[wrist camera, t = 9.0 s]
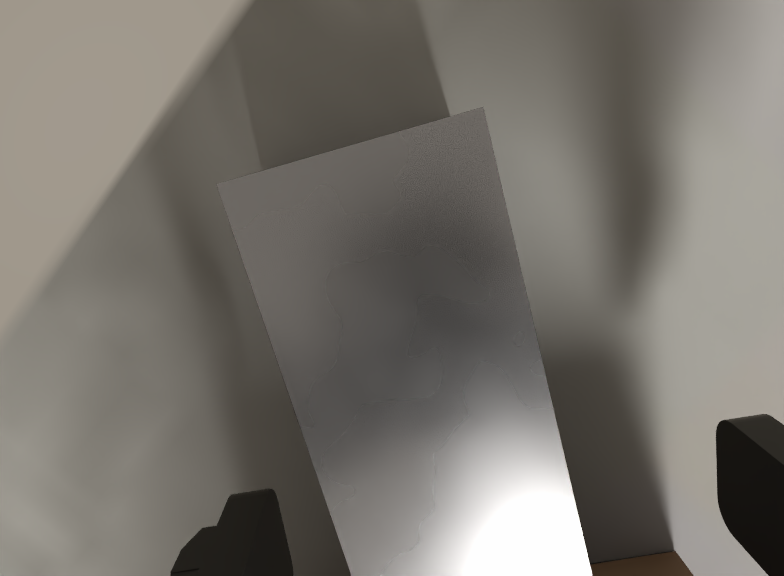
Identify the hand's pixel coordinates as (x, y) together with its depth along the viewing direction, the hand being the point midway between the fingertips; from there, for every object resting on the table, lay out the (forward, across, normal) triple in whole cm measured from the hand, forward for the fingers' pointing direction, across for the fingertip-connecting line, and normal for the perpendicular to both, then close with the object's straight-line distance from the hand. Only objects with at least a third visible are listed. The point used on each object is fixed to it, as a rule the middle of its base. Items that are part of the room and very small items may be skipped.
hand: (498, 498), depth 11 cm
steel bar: (+3, +1, +2) cm, 4 cm away
